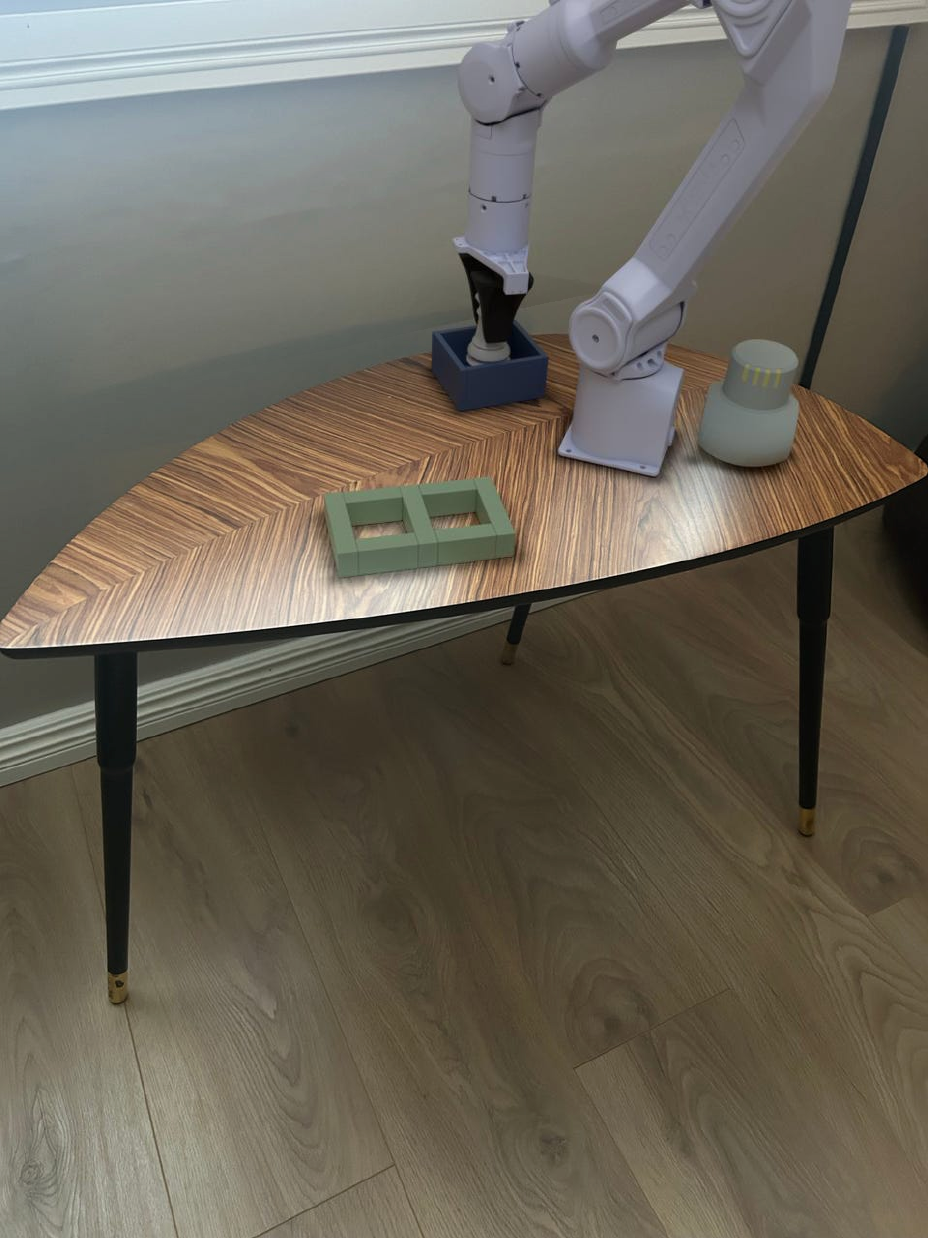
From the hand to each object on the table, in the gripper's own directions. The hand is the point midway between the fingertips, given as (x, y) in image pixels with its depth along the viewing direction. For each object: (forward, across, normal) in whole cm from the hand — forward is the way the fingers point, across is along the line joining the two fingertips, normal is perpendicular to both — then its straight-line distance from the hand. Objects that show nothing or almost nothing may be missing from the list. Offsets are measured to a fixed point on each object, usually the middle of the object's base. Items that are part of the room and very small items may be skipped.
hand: (490, 331), depth 99 cm
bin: (+6, 0, 0) cm, 6 cm away
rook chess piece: (+4, 0, 0) cm, 4 cm away
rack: (+6, +23, -12) cm, 27 cm away
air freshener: (+6, +16, +21) cm, 27 cm away
